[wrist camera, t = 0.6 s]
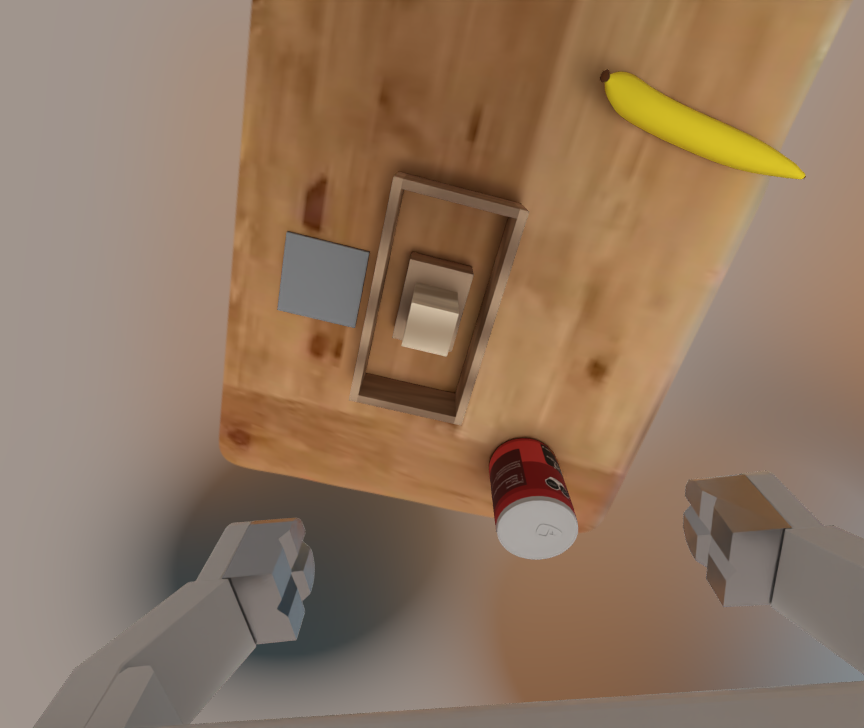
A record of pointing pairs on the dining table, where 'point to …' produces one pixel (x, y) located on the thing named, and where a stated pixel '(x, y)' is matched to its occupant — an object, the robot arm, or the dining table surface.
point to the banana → (693, 128)
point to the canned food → (531, 500)
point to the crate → (440, 276)
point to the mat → (322, 279)
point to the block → (431, 319)
